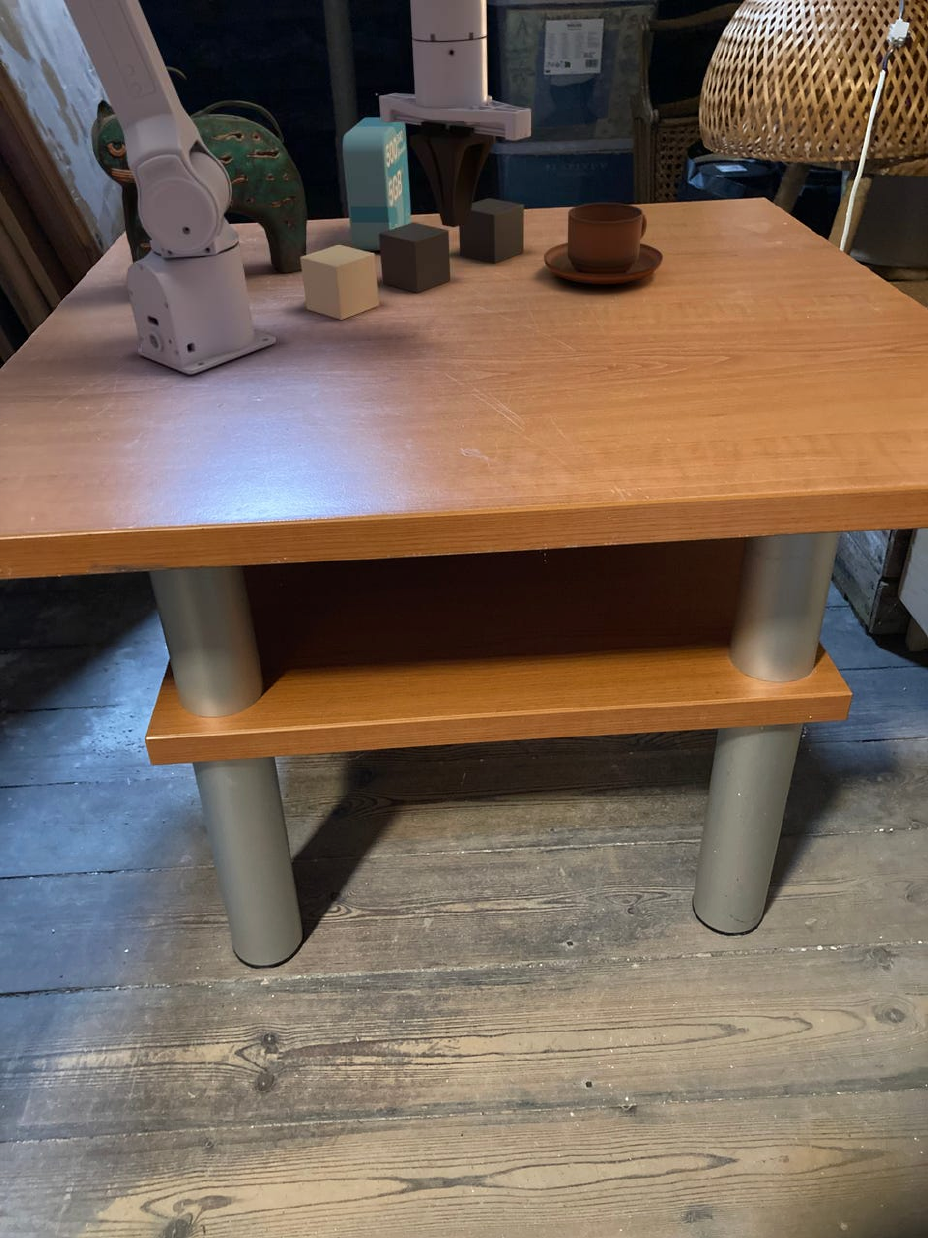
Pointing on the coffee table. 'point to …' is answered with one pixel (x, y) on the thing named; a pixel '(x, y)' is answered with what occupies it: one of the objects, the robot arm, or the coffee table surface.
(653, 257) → the cup and saucer
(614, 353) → the coffee table surface
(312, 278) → the cream block
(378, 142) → the data package
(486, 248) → the far block
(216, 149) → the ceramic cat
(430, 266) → the middle block
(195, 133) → the robot arm
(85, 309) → the coffee table surface
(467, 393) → the coffee table surface
